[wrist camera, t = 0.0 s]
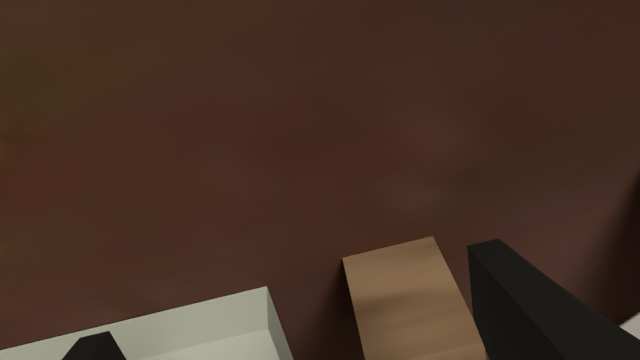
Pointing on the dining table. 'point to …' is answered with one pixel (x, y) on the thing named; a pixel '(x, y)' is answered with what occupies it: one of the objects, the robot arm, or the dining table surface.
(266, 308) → the board
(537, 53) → the dining table surface
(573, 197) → the dining table surface
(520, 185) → the dining table surface
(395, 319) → the walnut block
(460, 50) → the dining table surface
